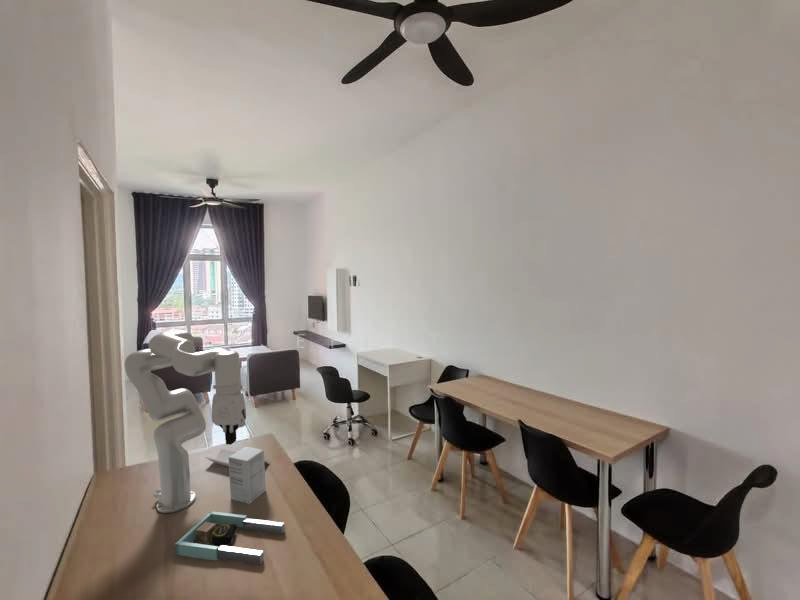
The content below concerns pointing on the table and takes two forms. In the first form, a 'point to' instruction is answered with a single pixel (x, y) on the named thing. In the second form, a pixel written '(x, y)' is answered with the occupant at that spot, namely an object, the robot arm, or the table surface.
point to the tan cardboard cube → (205, 532)
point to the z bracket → (224, 457)
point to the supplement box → (247, 474)
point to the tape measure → (223, 535)
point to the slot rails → (250, 554)
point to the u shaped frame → (201, 550)
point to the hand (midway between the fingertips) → (231, 442)
